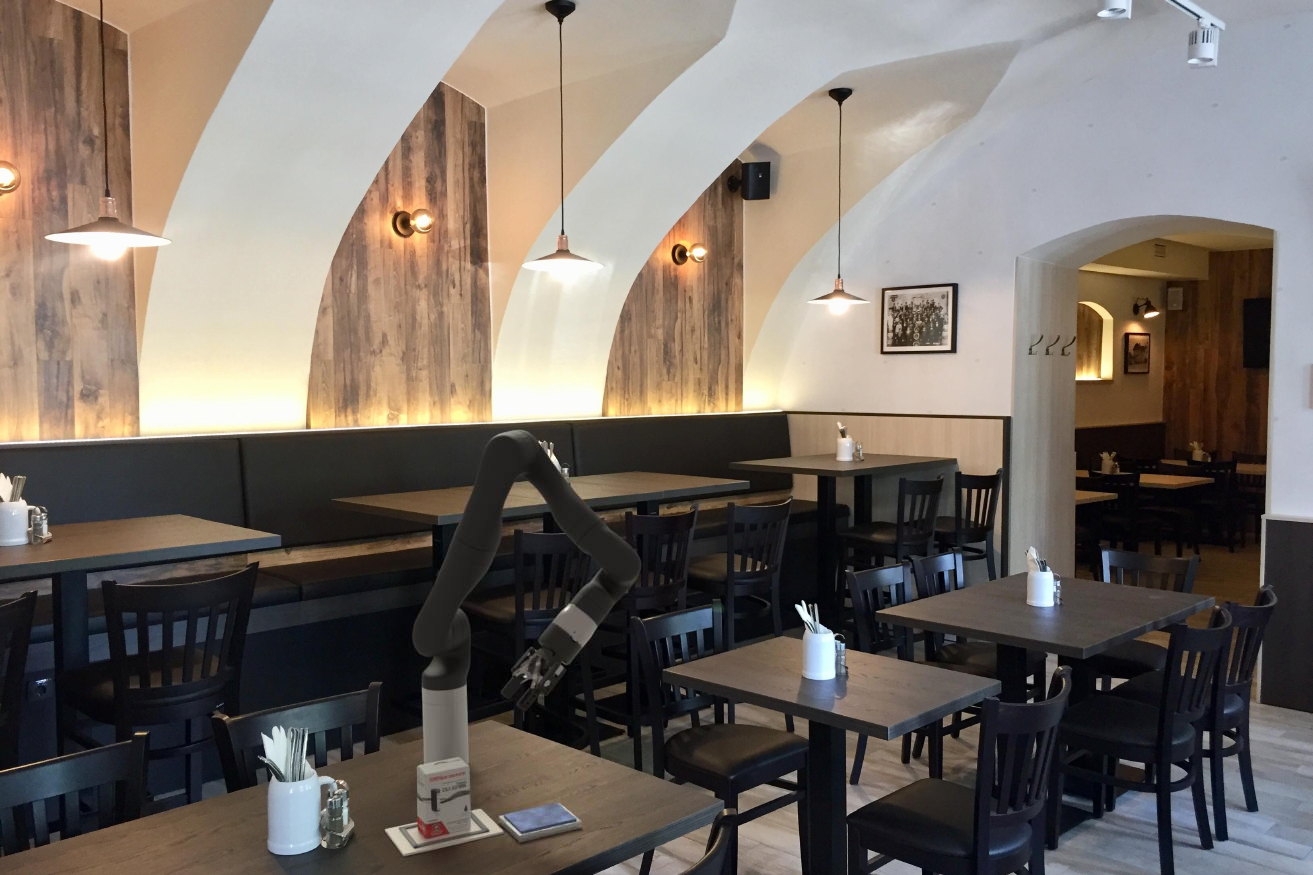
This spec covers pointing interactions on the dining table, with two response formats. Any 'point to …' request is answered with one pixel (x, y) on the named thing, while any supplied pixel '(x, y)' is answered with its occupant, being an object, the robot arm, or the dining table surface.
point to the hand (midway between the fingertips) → (512, 702)
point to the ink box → (443, 797)
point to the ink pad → (539, 822)
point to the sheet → (415, 842)
